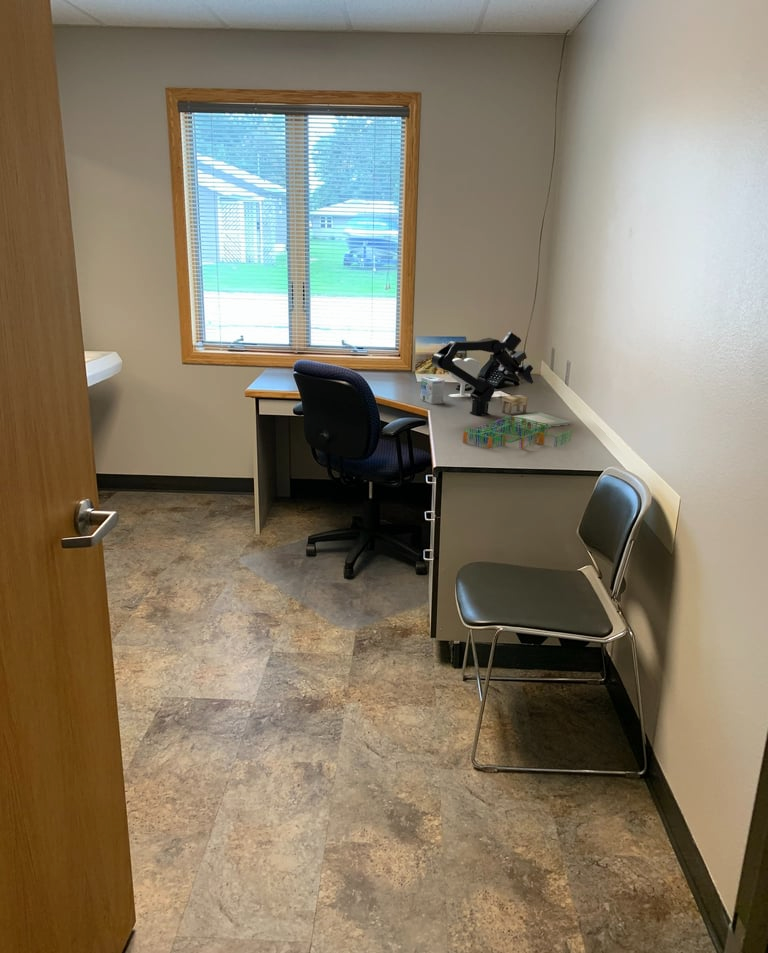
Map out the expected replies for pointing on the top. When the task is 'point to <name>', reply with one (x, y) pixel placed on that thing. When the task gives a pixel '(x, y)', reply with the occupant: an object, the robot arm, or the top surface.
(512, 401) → the maple stool
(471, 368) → the heart sculpture
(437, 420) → the top surface
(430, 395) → the light bulb box
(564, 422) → the sage board
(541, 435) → the house model
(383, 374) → the top surface
